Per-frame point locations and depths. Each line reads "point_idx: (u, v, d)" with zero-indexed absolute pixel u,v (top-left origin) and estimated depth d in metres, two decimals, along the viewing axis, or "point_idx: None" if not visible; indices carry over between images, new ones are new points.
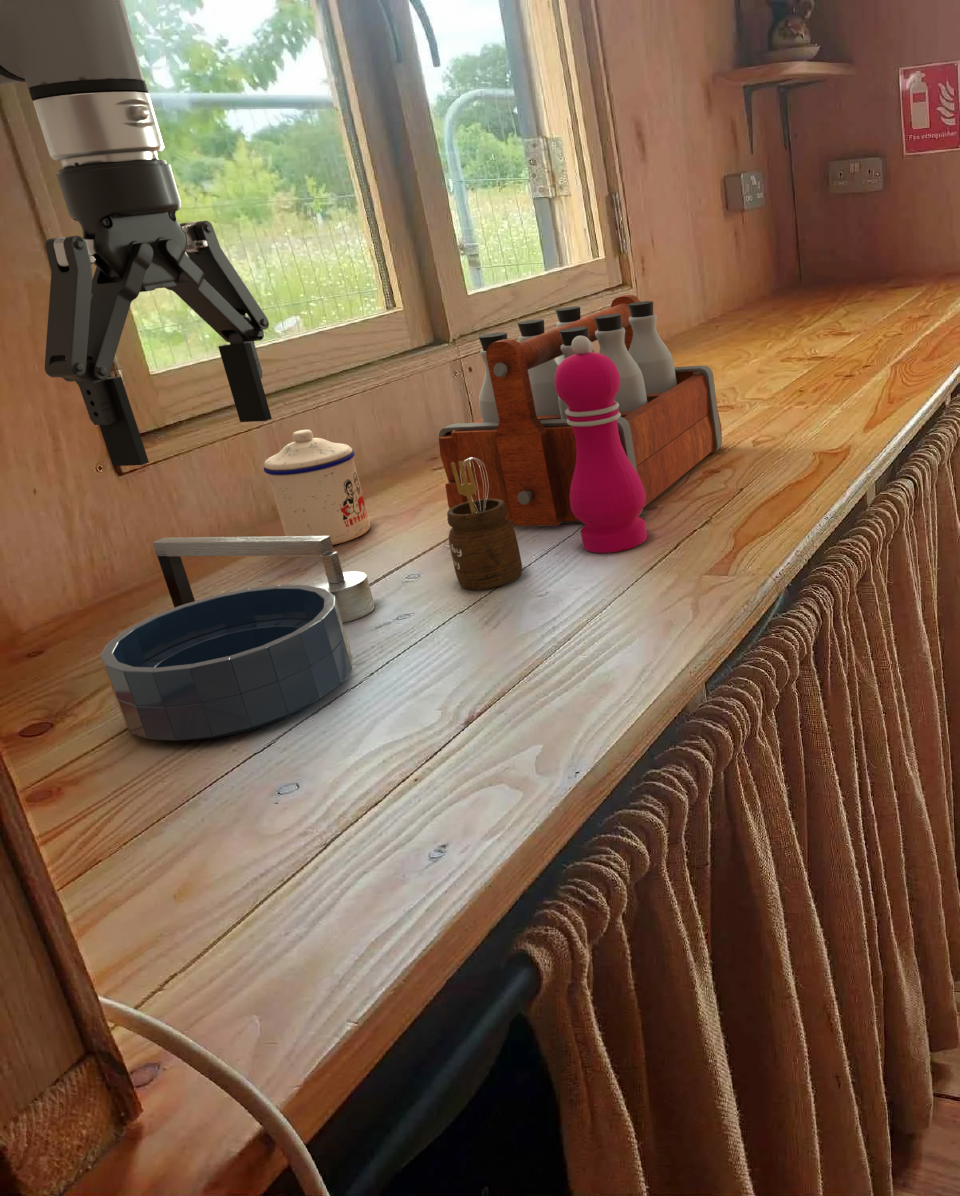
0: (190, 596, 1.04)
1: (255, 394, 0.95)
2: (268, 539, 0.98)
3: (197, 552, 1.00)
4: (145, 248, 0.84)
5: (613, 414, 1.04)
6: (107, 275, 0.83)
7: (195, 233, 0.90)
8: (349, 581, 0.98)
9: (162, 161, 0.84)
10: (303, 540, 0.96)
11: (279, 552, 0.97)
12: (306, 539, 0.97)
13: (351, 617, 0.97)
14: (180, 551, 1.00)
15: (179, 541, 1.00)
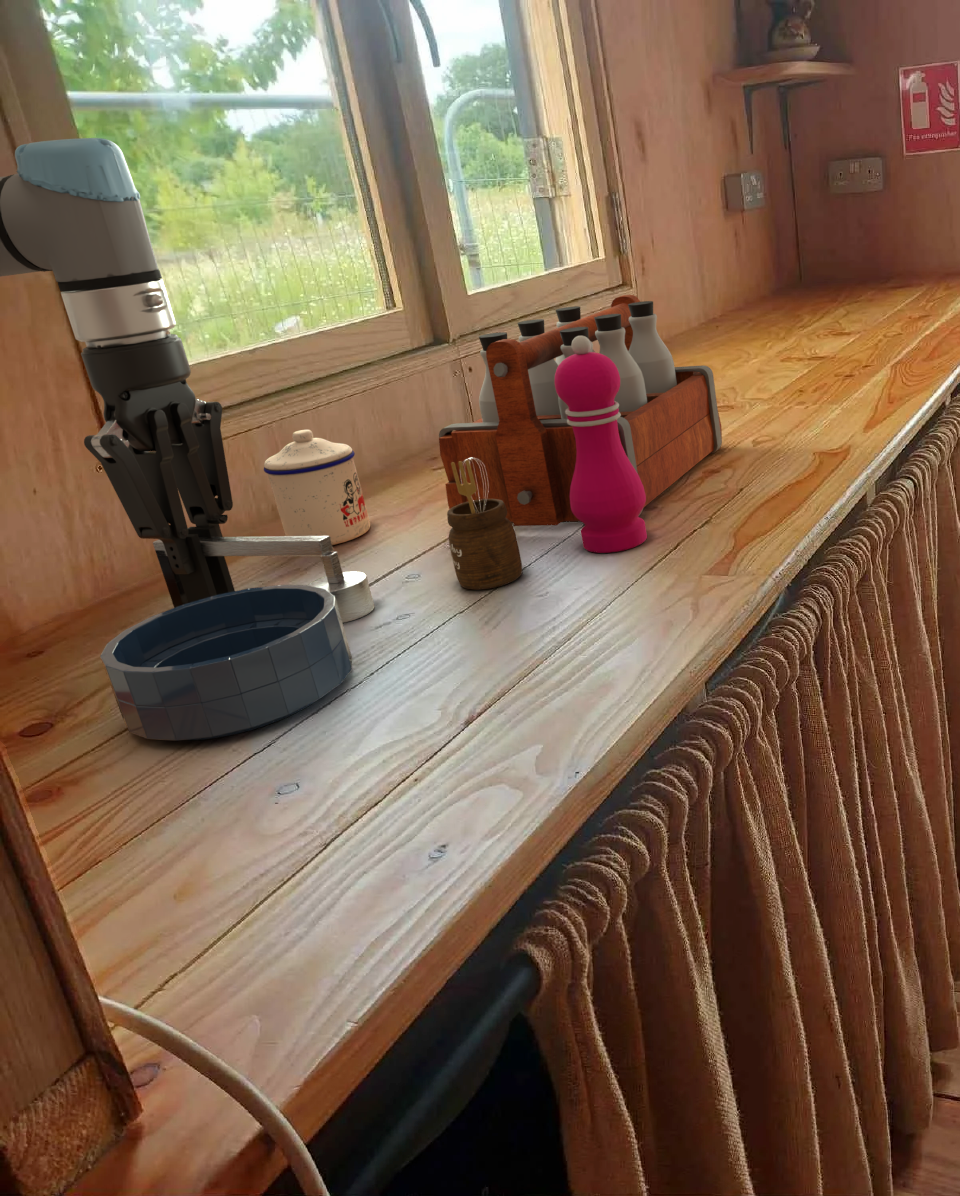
0: None
1: (219, 572, 1.02)
2: (268, 539, 0.98)
3: None
4: (159, 414, 0.94)
5: (613, 414, 1.04)
6: (125, 439, 0.94)
7: (205, 408, 1.01)
8: (348, 581, 0.98)
9: (174, 338, 0.94)
10: (303, 540, 0.96)
11: (279, 552, 0.97)
12: (306, 539, 0.97)
13: (351, 617, 0.97)
14: None
15: None
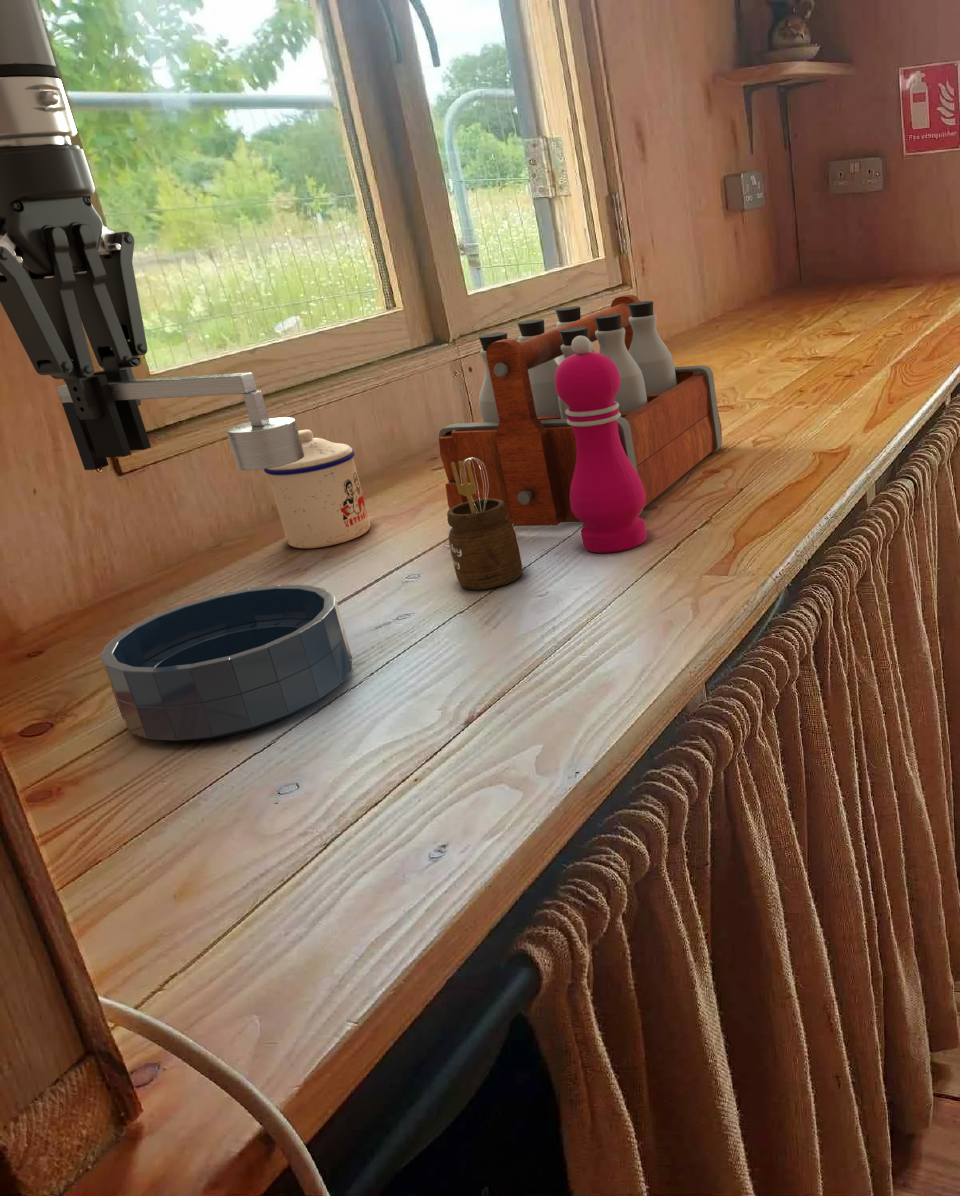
0: None
1: (132, 422, 0.92)
2: (184, 378, 0.88)
3: None
4: (58, 232, 0.84)
5: (613, 414, 1.04)
6: None
7: (114, 238, 0.91)
8: (274, 424, 0.88)
9: (75, 146, 0.84)
10: (222, 376, 0.87)
11: (196, 391, 0.88)
12: (226, 375, 0.87)
13: (277, 462, 0.87)
14: None
15: None
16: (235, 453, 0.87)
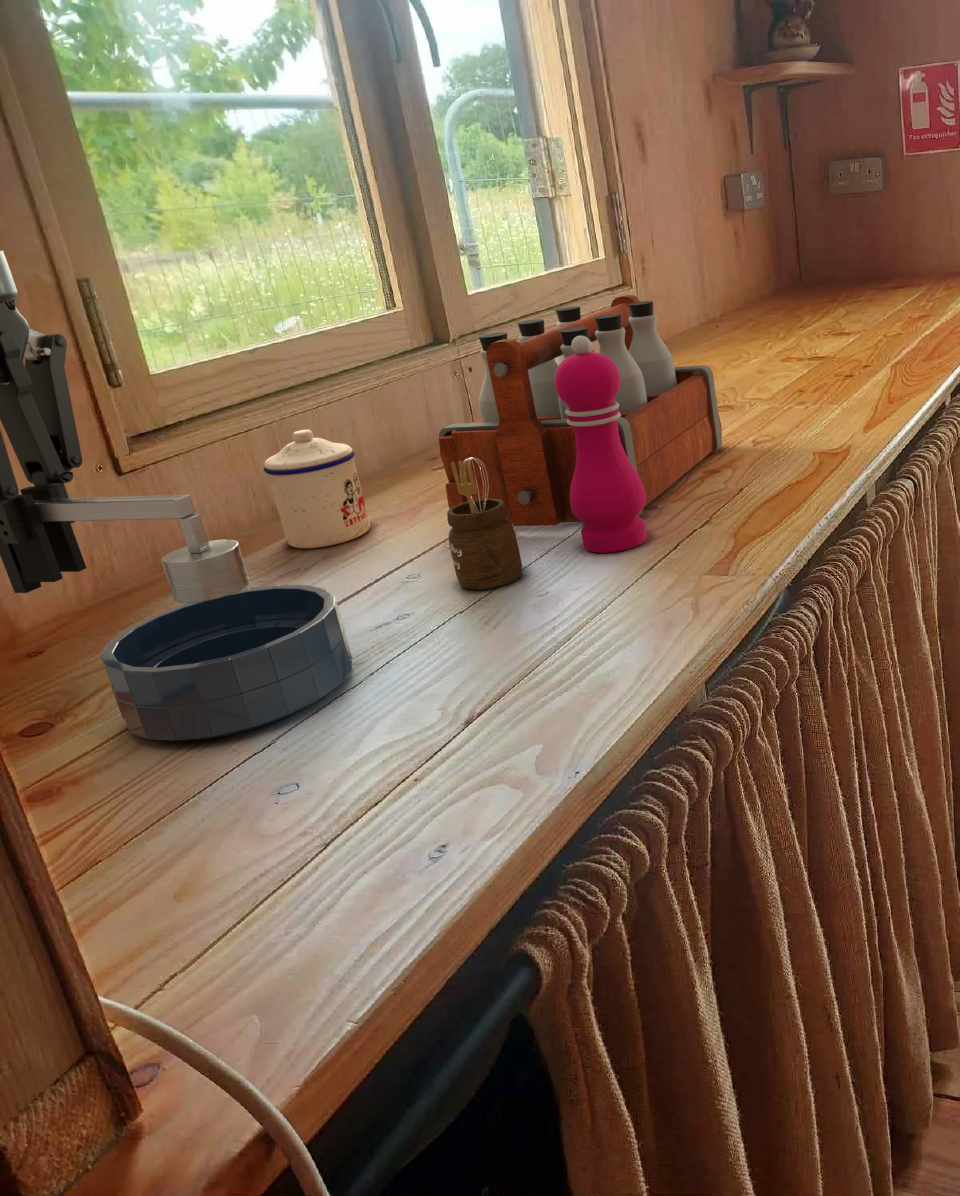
0: None
1: (64, 542, 0.84)
2: (116, 499, 0.80)
3: None
4: None
5: (613, 414, 1.04)
6: None
7: (44, 342, 0.83)
8: (214, 550, 0.79)
9: None
10: (156, 499, 0.78)
11: (128, 515, 0.79)
12: (160, 498, 0.78)
13: (216, 594, 0.79)
14: None
15: None
16: (170, 584, 0.79)
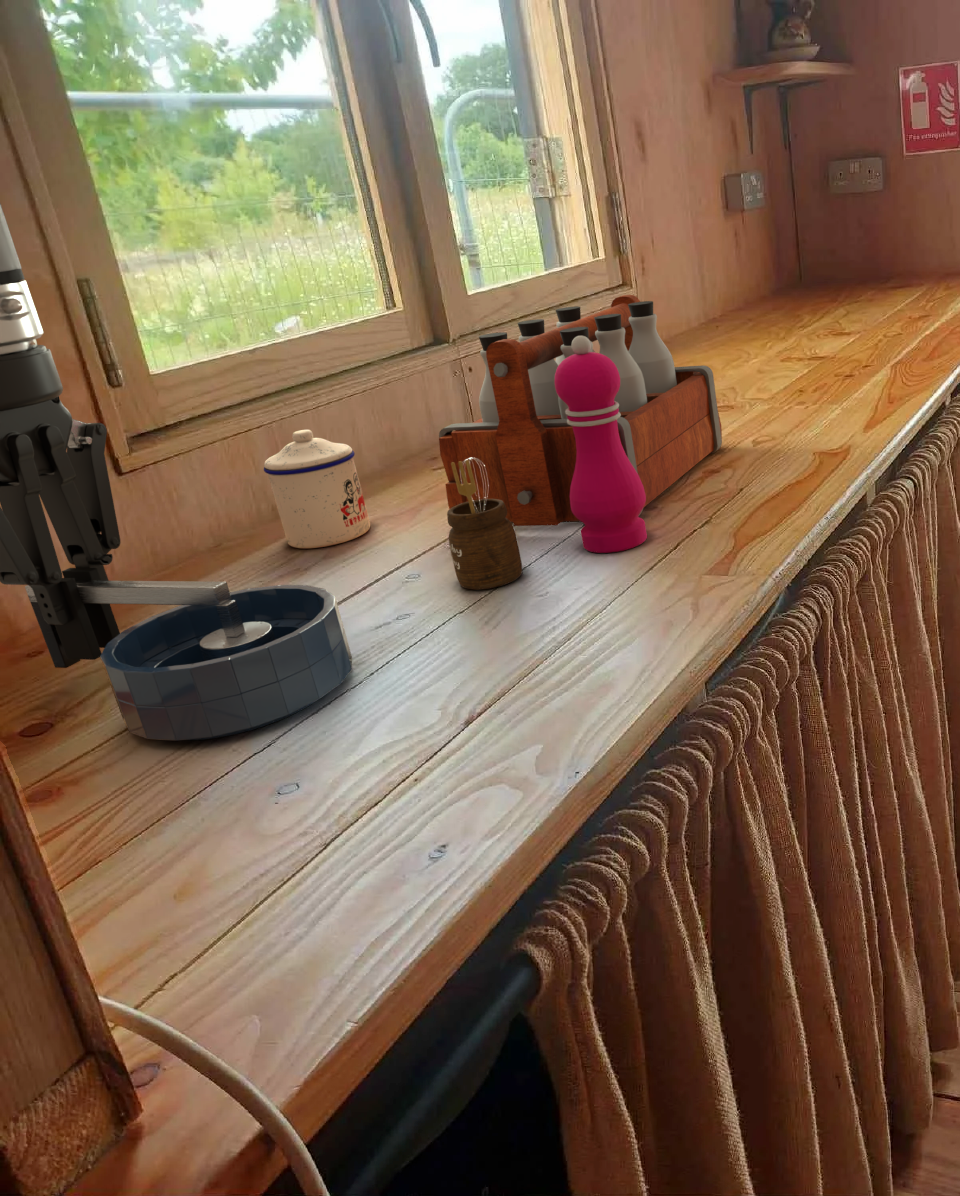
0: None
1: (103, 621, 0.88)
2: (155, 585, 0.84)
3: None
4: (22, 440, 0.80)
5: (613, 414, 1.04)
6: None
7: (85, 430, 0.87)
8: (249, 634, 0.83)
9: (40, 350, 0.80)
10: (195, 587, 0.82)
11: (168, 600, 0.83)
12: (199, 585, 0.83)
13: None
14: None
15: None
16: None
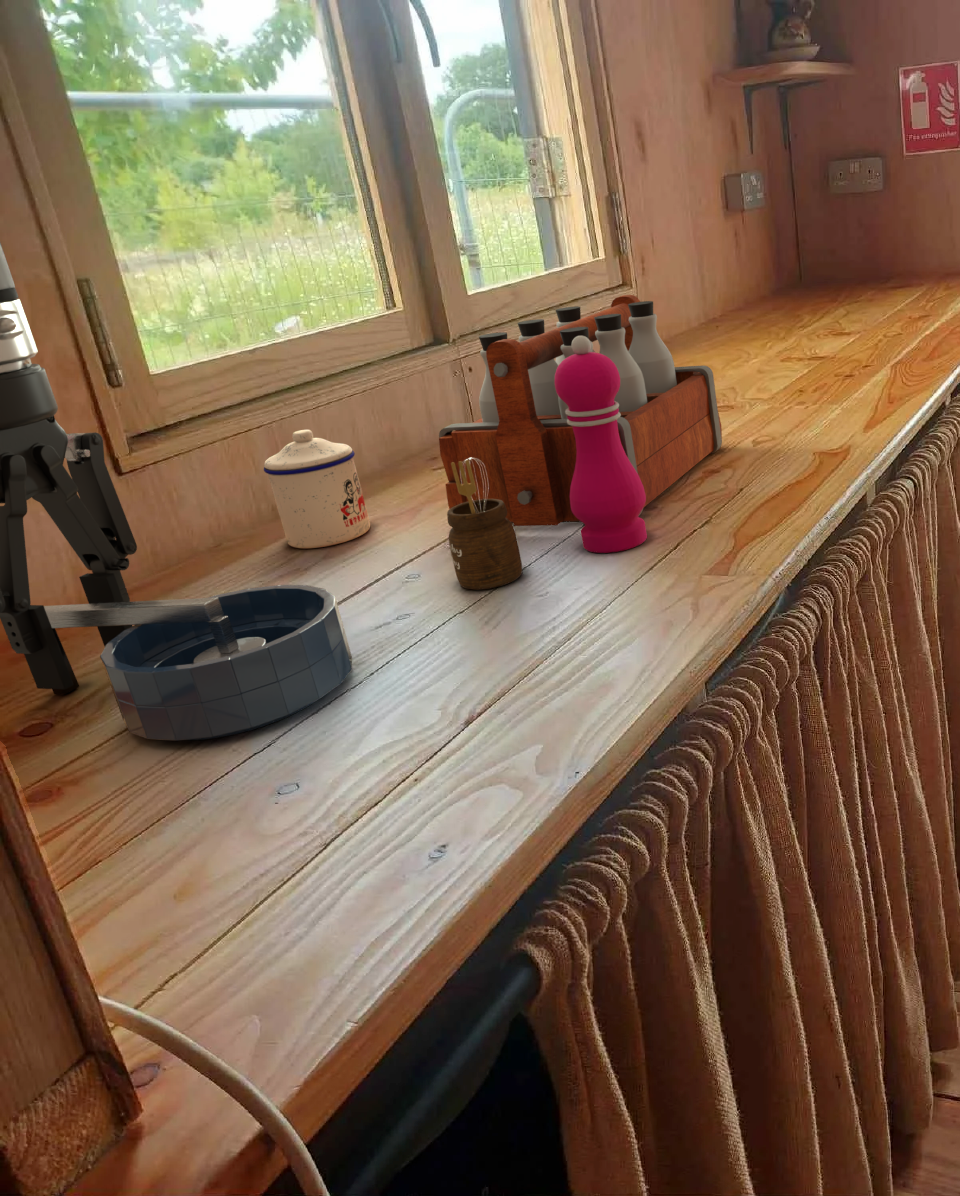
0: (69, 673, 0.89)
1: (120, 626, 0.89)
2: (148, 604, 0.83)
3: (69, 622, 0.85)
4: (16, 460, 0.79)
5: (613, 414, 1.04)
6: None
7: (81, 442, 0.86)
8: (243, 650, 0.82)
9: (34, 369, 0.79)
10: (186, 604, 0.81)
11: (160, 619, 0.82)
12: (190, 602, 0.81)
13: None
14: (50, 622, 0.85)
15: (49, 610, 0.85)
16: None
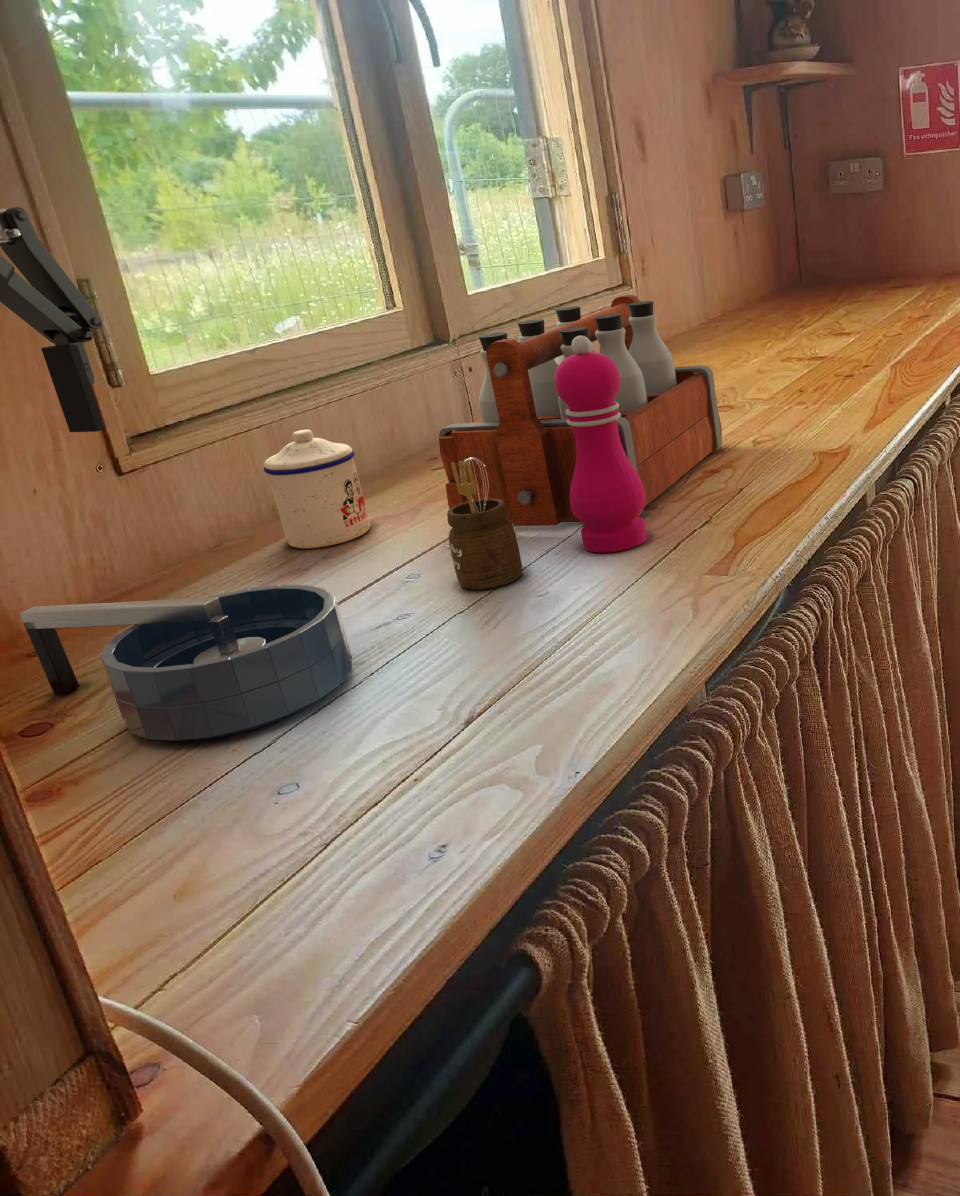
0: (69, 673, 0.89)
1: (84, 401, 0.86)
2: (148, 604, 0.83)
3: (69, 622, 0.85)
4: None
5: (613, 414, 1.04)
6: None
7: (6, 221, 0.80)
8: (243, 650, 0.82)
9: None
10: (186, 604, 0.81)
11: (160, 619, 0.82)
12: (190, 602, 0.81)
13: None
14: (50, 622, 0.85)
15: (49, 610, 0.85)
16: None
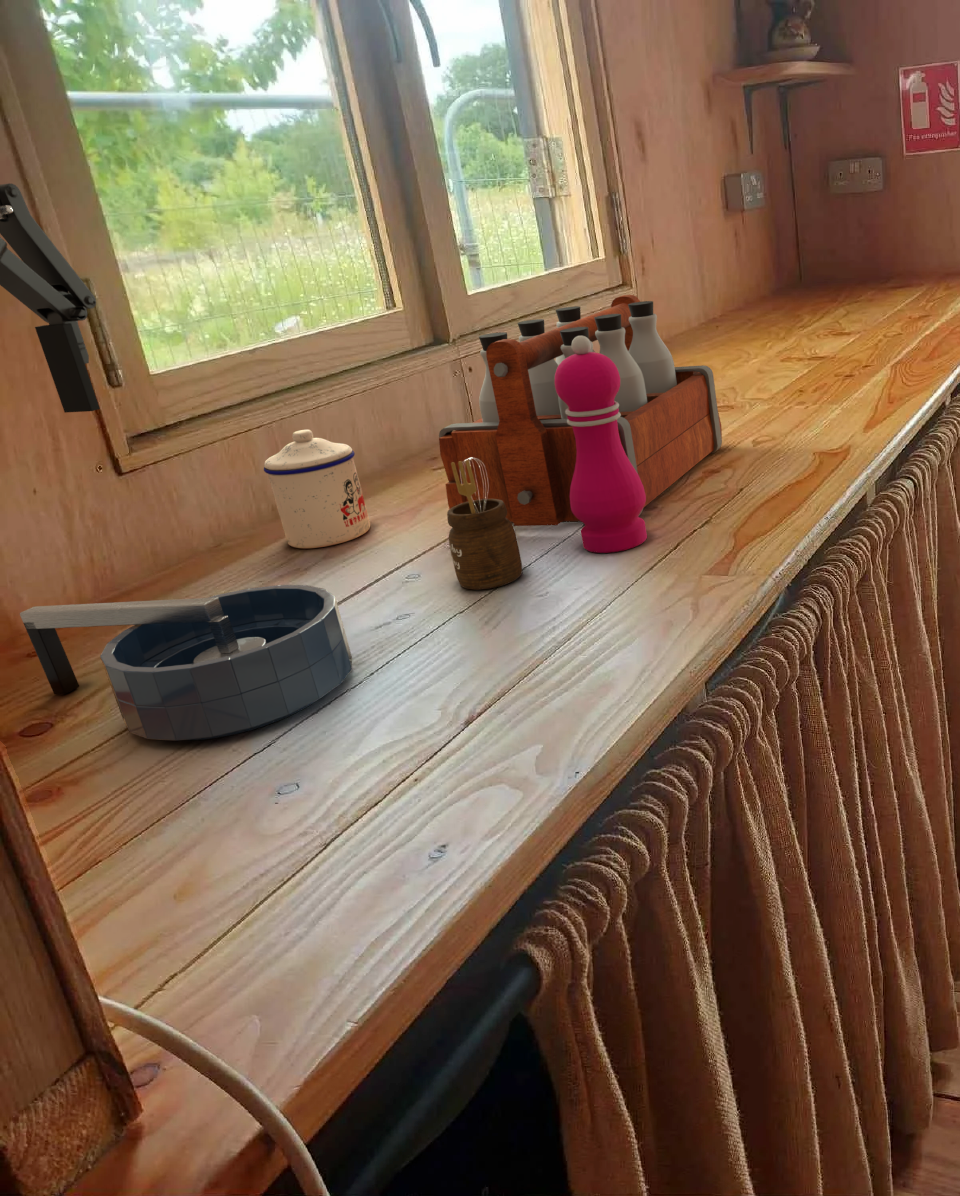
0: (69, 673, 0.89)
1: (78, 381, 0.85)
2: (148, 604, 0.83)
3: (69, 622, 0.85)
4: None
5: (613, 414, 1.04)
6: None
7: None
8: (243, 650, 0.82)
9: None
10: (186, 604, 0.81)
11: (160, 619, 0.82)
12: (190, 602, 0.81)
13: None
14: (50, 622, 0.85)
15: (49, 610, 0.85)
16: None
